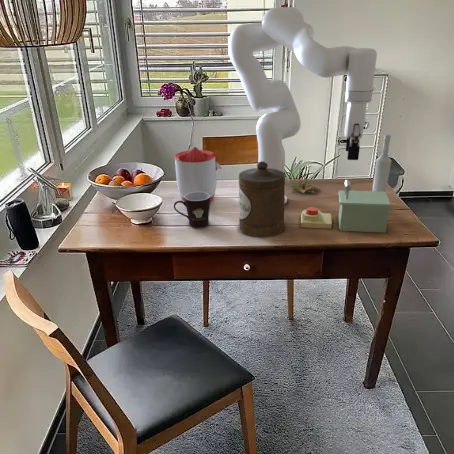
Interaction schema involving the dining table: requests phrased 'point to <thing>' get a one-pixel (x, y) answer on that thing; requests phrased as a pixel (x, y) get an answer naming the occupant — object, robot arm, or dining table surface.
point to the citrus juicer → (196, 172)
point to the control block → (316, 220)
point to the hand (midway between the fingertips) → (351, 155)
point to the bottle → (382, 167)
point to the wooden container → (261, 201)
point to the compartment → (363, 218)
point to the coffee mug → (196, 208)
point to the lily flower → (303, 187)
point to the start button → (312, 211)
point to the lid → (362, 197)
